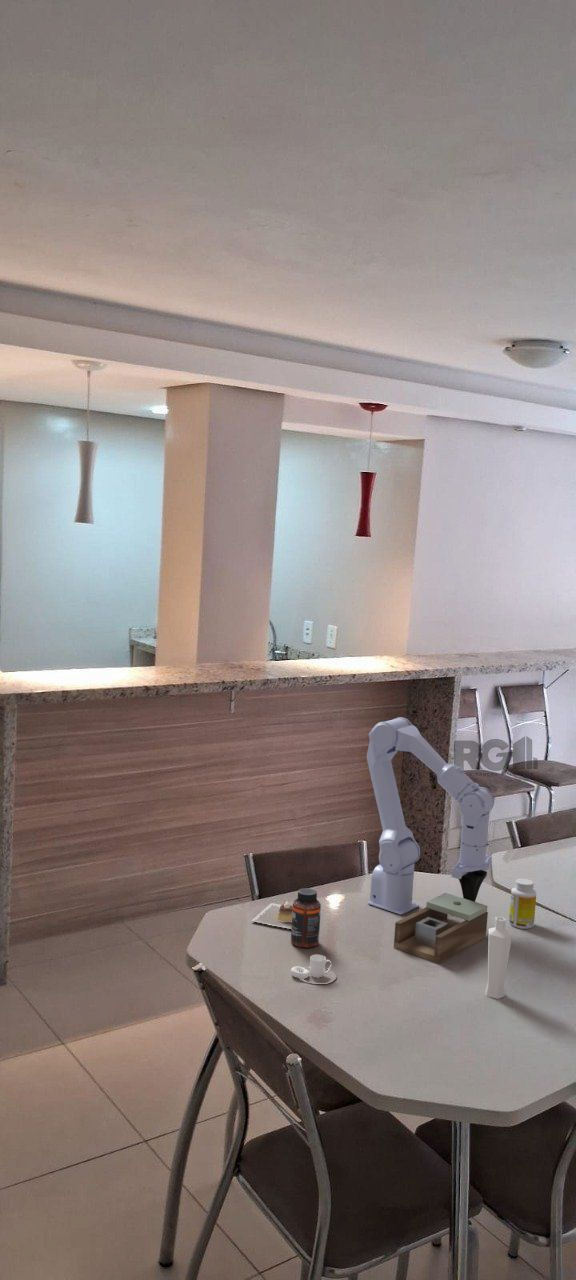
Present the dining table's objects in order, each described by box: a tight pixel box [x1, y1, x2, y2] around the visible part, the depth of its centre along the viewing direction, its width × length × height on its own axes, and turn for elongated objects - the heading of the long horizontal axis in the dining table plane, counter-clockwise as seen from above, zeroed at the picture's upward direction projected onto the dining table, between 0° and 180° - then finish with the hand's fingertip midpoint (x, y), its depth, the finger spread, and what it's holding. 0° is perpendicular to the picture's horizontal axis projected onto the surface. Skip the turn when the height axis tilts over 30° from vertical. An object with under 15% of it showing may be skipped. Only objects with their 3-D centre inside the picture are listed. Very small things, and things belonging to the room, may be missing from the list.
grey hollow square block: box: [415, 917, 448, 948], centre depth 212 cm, size 5×5×4 cm
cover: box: [425, 892, 489, 921], centre depth 219 cm, size 11×8×2 cm
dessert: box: [250, 900, 293, 930], centre depth 223 cm, size 12×12×5 cm
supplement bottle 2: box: [508, 878, 537, 930], centre depth 226 cm, size 6×6×10 cm
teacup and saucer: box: [290, 954, 332, 980], centre depth 195 cm, size 9×8×4 cm
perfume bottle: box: [484, 916, 513, 1000], centre depth 191 cm, size 5×4×15 cm
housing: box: [393, 907, 489, 965], centre depth 215 cm, size 11×20×6 cm, turn 141°
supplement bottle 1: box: [290, 887, 322, 949], centre depth 210 cm, size 6×6×11 cm
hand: (469, 902), depth 223 cm, fingers closed
